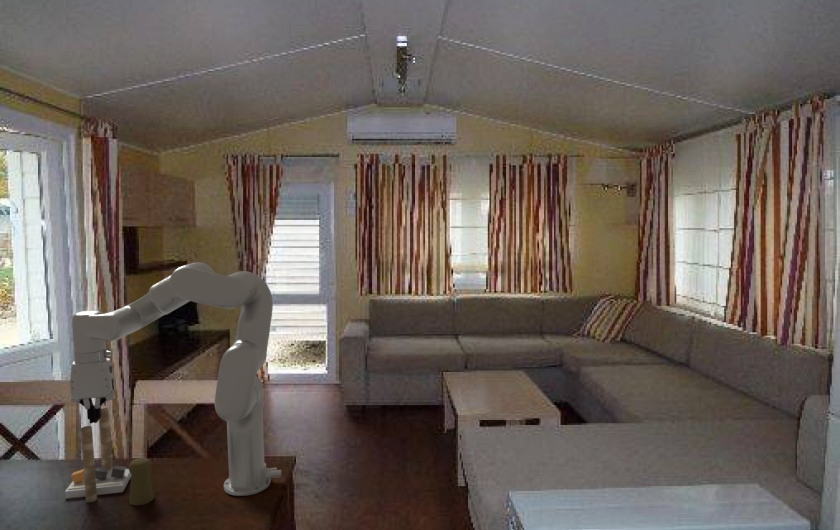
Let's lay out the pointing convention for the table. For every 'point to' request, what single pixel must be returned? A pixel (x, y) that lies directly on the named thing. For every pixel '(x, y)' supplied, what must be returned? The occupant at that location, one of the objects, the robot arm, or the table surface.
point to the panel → (100, 486)
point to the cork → (140, 482)
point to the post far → (105, 439)
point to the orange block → (78, 476)
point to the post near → (88, 464)
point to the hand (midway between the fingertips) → (94, 421)
